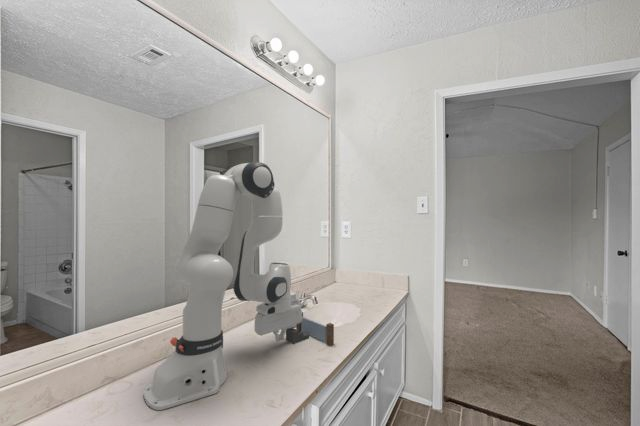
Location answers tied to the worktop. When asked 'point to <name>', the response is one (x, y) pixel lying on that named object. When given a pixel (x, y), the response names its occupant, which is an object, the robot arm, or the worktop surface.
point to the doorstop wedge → (295, 335)
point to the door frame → (328, 333)
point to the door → (313, 329)
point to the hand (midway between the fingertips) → (279, 339)
